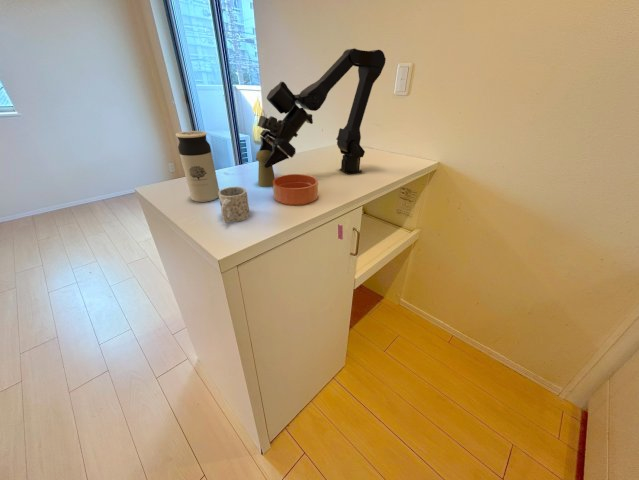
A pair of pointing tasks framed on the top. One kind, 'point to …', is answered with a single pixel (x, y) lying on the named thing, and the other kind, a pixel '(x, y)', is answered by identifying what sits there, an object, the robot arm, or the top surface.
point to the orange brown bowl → (295, 189)
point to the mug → (234, 204)
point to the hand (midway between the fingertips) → (260, 163)
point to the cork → (264, 169)
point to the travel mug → (198, 165)
